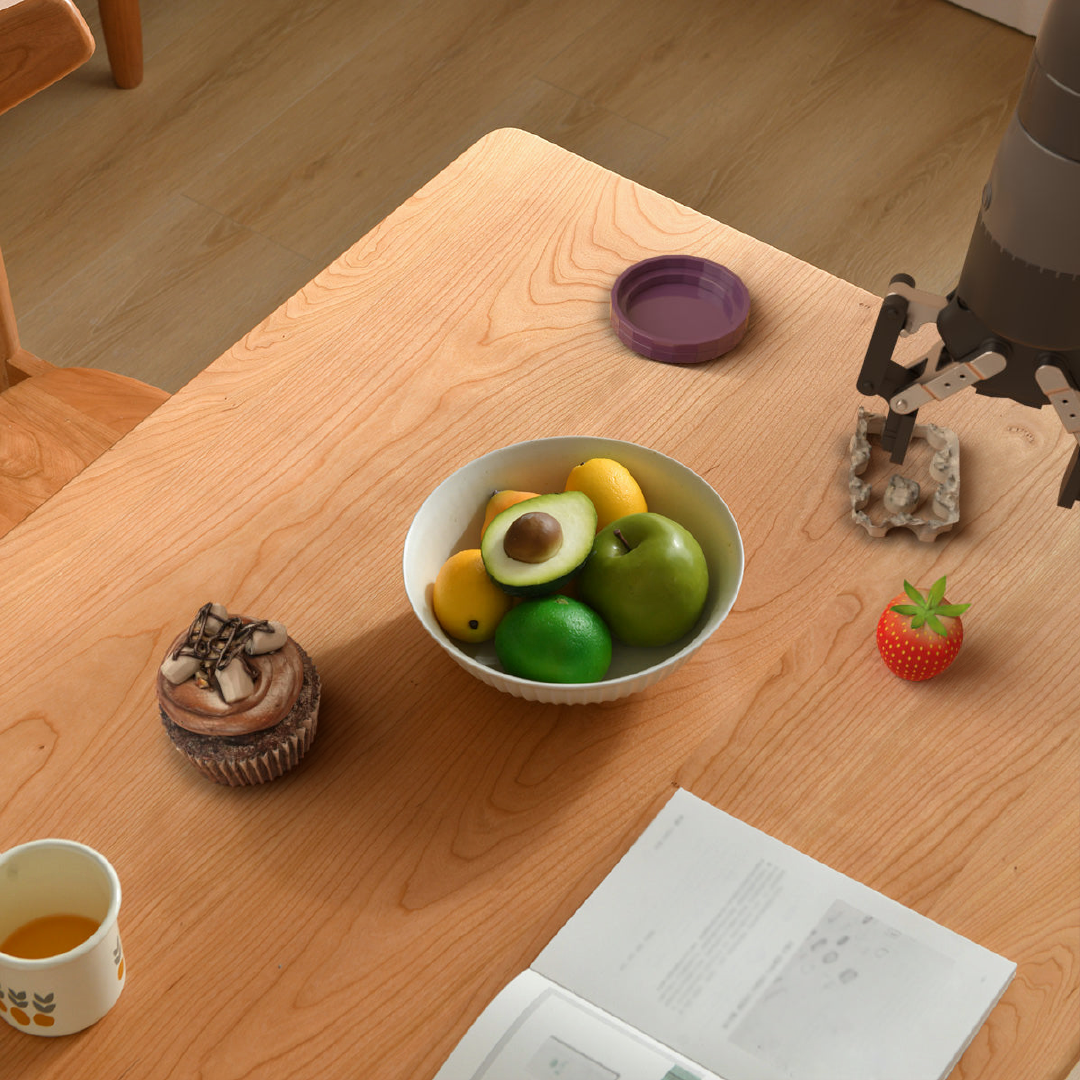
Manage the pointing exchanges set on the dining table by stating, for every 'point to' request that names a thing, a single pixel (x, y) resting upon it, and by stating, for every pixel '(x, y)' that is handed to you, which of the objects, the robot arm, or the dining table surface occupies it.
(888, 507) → the egg carton
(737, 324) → the dish
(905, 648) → the fruit
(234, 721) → the cupcake
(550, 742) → the dining table surface
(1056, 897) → the dining table surface
